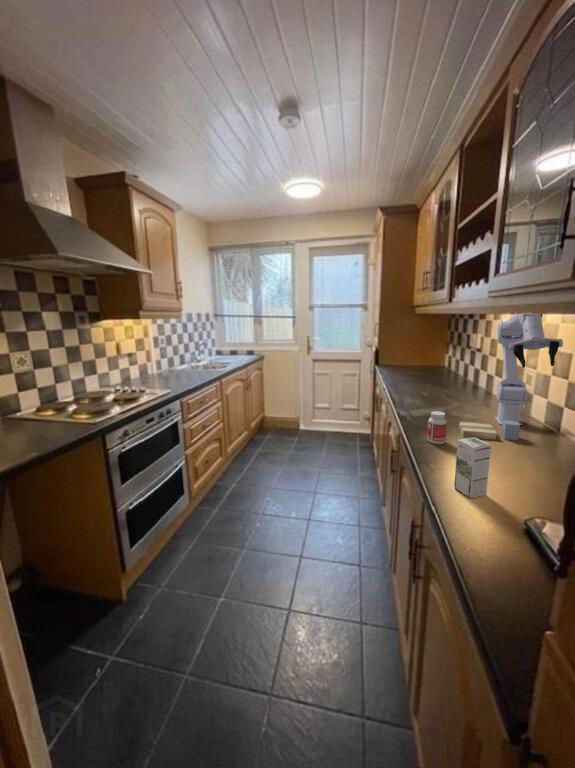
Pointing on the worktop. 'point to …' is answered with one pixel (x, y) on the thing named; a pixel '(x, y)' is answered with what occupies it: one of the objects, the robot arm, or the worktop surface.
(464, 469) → the syrup box
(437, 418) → the pill bottle
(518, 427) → the blue block
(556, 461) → the worktop surface
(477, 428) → the birch base
